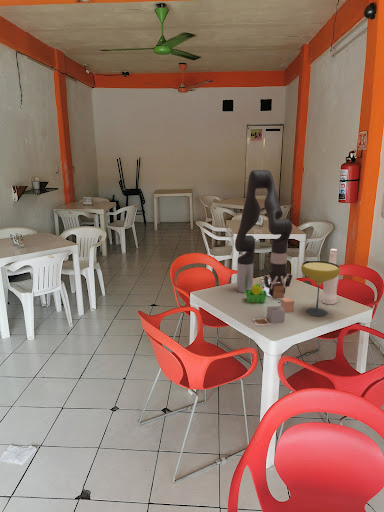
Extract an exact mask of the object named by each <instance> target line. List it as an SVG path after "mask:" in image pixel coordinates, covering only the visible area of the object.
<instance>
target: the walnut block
mask: <svg viewBox="0 0 384 512" xmlns="http://www.w3.org/2000/svg"><path fill="white" fill-rule="evenodd" d="M271 297H272V298H273V299H275V300H276V299H281V298H285V294H284V285H282V284H281V283H280V282H276V283H275V285H274V286H273V296H271Z"/></svg>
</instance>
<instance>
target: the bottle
mask: <svg viewBox="0 0 384 512" xmlns="http://www.w3.org/2000/svg"><path fill="white" fill-rule="evenodd" d="M337 255H338V248H330V251H329V256H328V257H329V258H328V262H330V263H334V264H336V265H337ZM339 278H340V274H339V275H338V276H337V277H336V278H334V279H331V280H328V281H325V282H323V283H322V284H323V285H322V286H323V287H322V293H321V297H320V298H321V302H322V303H323V304H325V305H336V304H337V300H338V296H337V292H338V284H339Z"/></svg>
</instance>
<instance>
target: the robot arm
mask: <svg viewBox="0 0 384 512" xmlns="http://www.w3.org/2000/svg"><path fill="white" fill-rule="evenodd" d="M275 185H276V184H275V182H274V177H273V175H272V172H271V171H270V170H268V169H254V170H251V171H250V173H249V175H248V182H247V190H246V196H245V200H244V205H243V209H242V213H241V219H240V220H241V221H240V224H239V227H238V231H237V235H236V237H235V242H234V248H235V250H236V251H237V252H239V253H240V252H241V253H243V252H244V254H242V255H239V256H238V257H237V260H236V261H237V264H236V265H237V267H236V270H237V271H236V273H237V274H236V291H237V292H238V293H240V294H241V293H242V294H246V292H245V290H252V287H253V286H254V283H253V282H254V281H253V280H254V261H255V253H256V252H255V251H256V250H255V249H256V238H255V237H254V236H253V235H247V234H248V233H249V232H250V230H252V228H253V227H254V226H255V225H256V224H257V223H258V221H259V219H260V215H261V205H260V203H259V201H258V199H257V197H256V190H258V189H266V191H267V194H266V197H265V200H264V204H263V205H264V209H265V212H266V215H267V219H268V220H267V221H268V231H269V233H270V234H271V235H274V236H276V235H277V236H278V235H279V237H278V238H275V239H273V240H272V241H271V252H270V261H269V262H270V263H269V267H270V268H269V273H268V274H264V275H263V280H264V281H263V282H264V285H265V287H266V288H267V289H268V294H269V295H270V297H272V296H273V286H274V285H275V283H281V284H282V285H284V295H285V294H286V288H288V287H290V286H291V282H292V279H293V275H292V274H291V273H287V263H288V255H287V253H288V251H287V250H288V242H289V239H290V236H291V234H292V230H293V223H292V221H291V220H289V219H288V218H282V217H283V216H284V212H283V209H282V207H281V204H280V202H279V200H278V196H277V192H276V186H275ZM281 218H282V219H281ZM285 278H286V280H285Z"/></svg>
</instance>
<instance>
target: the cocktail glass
mask: <svg viewBox="0 0 384 512" xmlns="http://www.w3.org/2000/svg"><path fill="white" fill-rule="evenodd" d="M300 268H301V272H302V274H303V275H304V276H305V277H307V278H308V279H310V280H312V281H313V282H314V283H315V284H316V285H317V294H316V295H317V297H316V305H315V307H310V308H309V307H308V308H307V309H305V313H306V314H307V315H310V316H313V317H317V318H321V317H326V316H328V315H329V312H328V310H325V309H323V308H319V296H320V286H321V285H322V284H323V282H325V281H328V280H331V279H334V278H336V277H337V276H338V275H339V276H340V270H341V269H340V266H339V265H338V264H337V263H336V264H334V263H330V262H329V261H325V260H310V261H309V260H308V261H305V262H303V263H302V264H301V267H300Z"/></svg>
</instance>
